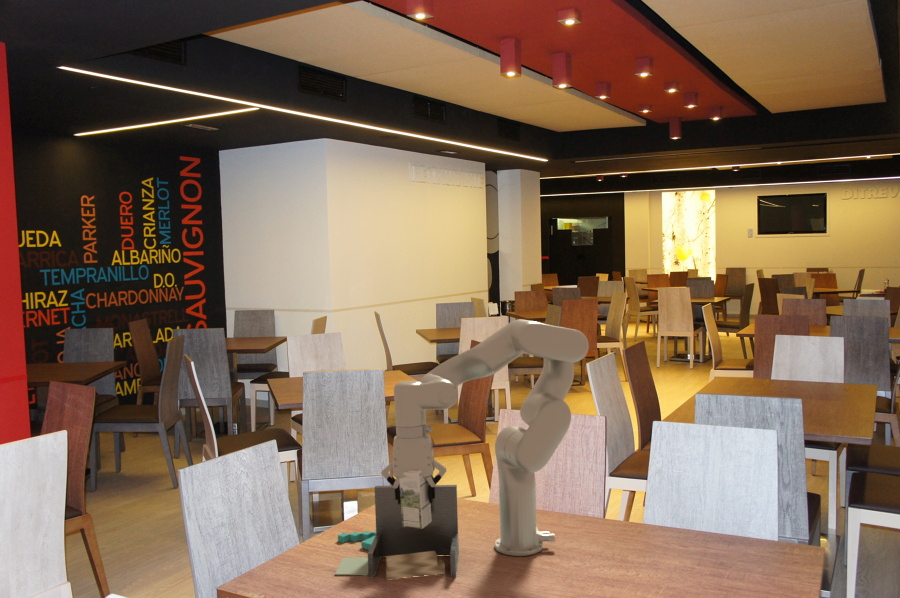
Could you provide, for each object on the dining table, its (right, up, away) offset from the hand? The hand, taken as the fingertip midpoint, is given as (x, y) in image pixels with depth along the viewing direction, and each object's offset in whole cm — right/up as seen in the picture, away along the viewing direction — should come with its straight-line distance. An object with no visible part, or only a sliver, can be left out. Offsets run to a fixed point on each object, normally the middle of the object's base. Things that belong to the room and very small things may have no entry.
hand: (415, 501), depth 186 cm
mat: (-15, -16, +1) cm, 22 cm away
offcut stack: (0, -17, -5) cm, 17 cm away
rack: (0, -16, +1) cm, 16 cm away
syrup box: (0, -6, 0) cm, 6 cm away
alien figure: (-8, -16, +20) cm, 27 cm away
